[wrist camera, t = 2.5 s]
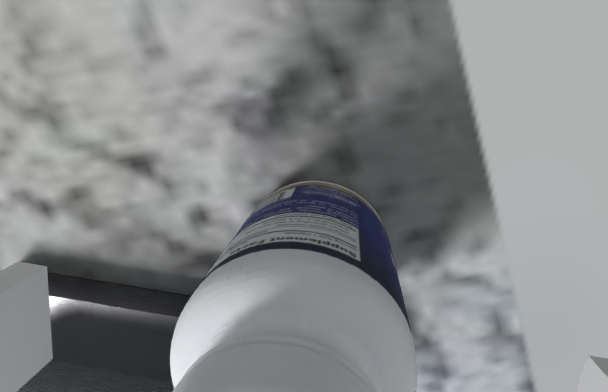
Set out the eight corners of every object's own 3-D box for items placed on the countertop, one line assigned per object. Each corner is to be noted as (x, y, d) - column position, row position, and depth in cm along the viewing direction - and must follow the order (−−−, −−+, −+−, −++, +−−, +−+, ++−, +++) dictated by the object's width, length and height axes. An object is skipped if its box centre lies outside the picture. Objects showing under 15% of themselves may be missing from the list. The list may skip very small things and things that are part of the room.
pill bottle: (382, 315, 16) (427, 658, 6) (247, 303, 16) (108, 603, 7) (396, 181, 14) (481, 377, 5) (246, 172, 15) (67, 333, 5)
